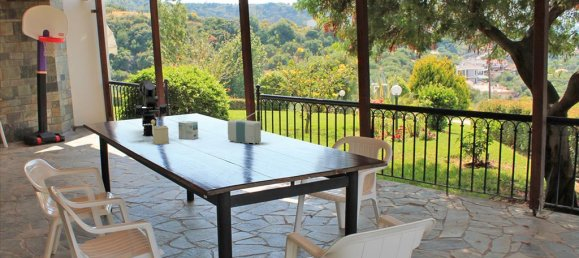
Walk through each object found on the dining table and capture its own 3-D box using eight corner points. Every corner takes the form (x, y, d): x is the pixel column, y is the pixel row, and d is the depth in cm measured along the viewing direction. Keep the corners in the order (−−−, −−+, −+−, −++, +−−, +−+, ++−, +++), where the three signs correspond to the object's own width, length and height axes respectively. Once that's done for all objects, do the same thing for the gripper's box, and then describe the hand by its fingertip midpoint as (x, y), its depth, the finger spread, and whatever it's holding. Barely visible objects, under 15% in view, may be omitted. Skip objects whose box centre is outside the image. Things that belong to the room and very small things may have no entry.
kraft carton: (166, 140, 344) (166, 125, 343) (168, 143, 335) (168, 128, 333) (153, 141, 341) (152, 126, 340) (155, 144, 332) (154, 128, 331)
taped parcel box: (227, 141, 341) (226, 109, 338) (236, 140, 347) (235, 108, 344) (254, 145, 329) (253, 111, 326) (262, 143, 336) (262, 110, 333)
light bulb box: (198, 138, 355) (198, 121, 353) (193, 139, 348) (193, 122, 347) (183, 137, 358) (183, 120, 356) (178, 138, 352) (177, 122, 350)
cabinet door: (154, 133, 340) (154, 118, 339) (156, 135, 332) (155, 120, 331) (150, 133, 340) (150, 118, 338) (152, 136, 331) (151, 120, 330)
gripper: (134, 92, 338) (136, 112, 330) (165, 91, 344) (168, 111, 336) (134, 104, 347) (136, 123, 338) (164, 102, 353) (167, 122, 344)
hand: (152, 120), depth 339 cm, fingers open, 9 cm apart
